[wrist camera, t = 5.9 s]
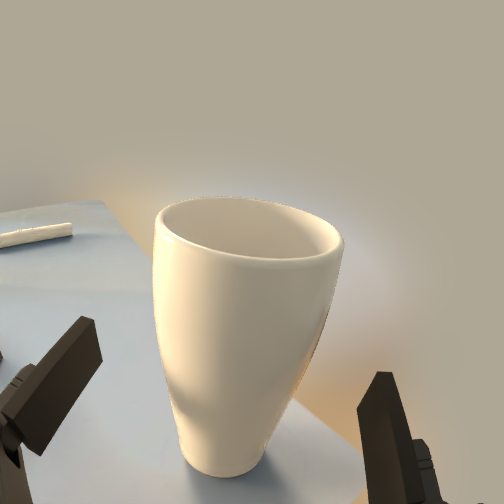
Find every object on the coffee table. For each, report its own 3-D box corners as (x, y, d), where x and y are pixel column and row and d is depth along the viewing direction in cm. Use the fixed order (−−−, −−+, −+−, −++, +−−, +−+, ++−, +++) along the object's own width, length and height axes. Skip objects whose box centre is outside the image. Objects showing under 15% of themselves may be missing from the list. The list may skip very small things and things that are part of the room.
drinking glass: (210, 393, 21) (228, 188, 15) (290, 437, 18) (364, 227, 12) (147, 449, 15) (112, 215, 9) (237, 509, 12) (304, 293, 6)
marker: (-25, 255, 31) (-28, 240, 30) (-24, 250, 32) (-26, 236, 32) (73, 236, 42) (71, 222, 41) (71, 232, 44) (70, 219, 43)
